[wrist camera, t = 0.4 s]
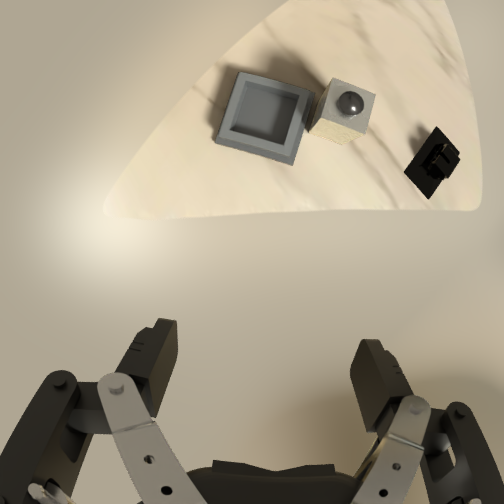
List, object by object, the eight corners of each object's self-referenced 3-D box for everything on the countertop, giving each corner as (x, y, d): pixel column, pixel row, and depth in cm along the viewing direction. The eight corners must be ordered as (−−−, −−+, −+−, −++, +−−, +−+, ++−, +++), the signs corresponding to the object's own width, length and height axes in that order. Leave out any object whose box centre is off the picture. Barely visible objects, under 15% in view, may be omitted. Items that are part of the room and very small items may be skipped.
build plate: (435, 115, 32) (451, 110, 27) (465, 151, 32) (483, 150, 28) (391, 176, 35) (405, 176, 30) (425, 211, 36) (441, 216, 31)
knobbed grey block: (318, 102, 33) (334, 74, 22) (350, 114, 33) (379, 92, 22) (308, 133, 34) (322, 115, 23) (341, 144, 34) (368, 133, 23)
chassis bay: (239, 74, 32) (235, 65, 29) (314, 95, 33) (317, 87, 29) (216, 143, 35) (210, 140, 32) (292, 165, 35) (294, 164, 32)
